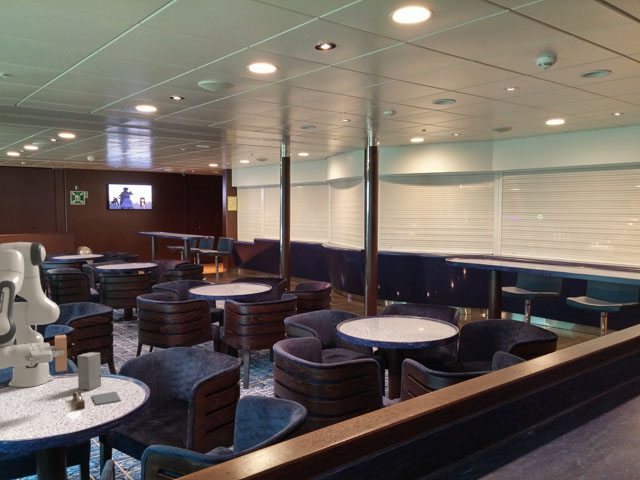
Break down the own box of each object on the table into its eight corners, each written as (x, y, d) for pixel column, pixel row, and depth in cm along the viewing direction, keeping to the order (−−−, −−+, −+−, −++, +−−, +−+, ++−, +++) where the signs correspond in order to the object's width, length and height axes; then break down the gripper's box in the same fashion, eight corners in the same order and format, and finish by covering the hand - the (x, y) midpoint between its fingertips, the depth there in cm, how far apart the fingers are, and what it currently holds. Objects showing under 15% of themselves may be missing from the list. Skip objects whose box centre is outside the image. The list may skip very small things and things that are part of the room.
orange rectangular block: (55, 368, 218) (54, 335, 217) (65, 367, 220) (65, 334, 219) (56, 371, 214) (55, 338, 213) (67, 370, 216) (66, 337, 215)
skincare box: (89, 391, 236) (88, 357, 236) (76, 389, 239) (76, 355, 238) (102, 385, 244) (101, 352, 244) (90, 383, 247) (89, 350, 246)
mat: (91, 396, 229) (91, 395, 229) (115, 392, 234) (115, 391, 234) (95, 405, 219) (95, 404, 219) (120, 401, 224) (120, 399, 224)
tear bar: (72, 399, 226) (72, 391, 226) (80, 397, 228) (80, 390, 227) (76, 409, 214) (76, 401, 214) (84, 408, 216) (84, 400, 216)
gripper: (26, 353, 201) (65, 348, 208) (24, 341, 218) (61, 337, 225) (26, 369, 201) (65, 364, 208) (24, 356, 218) (61, 352, 226)
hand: (63, 350), depth 217 cm, fingers closed on orange rectangular block, 5 cm apart
